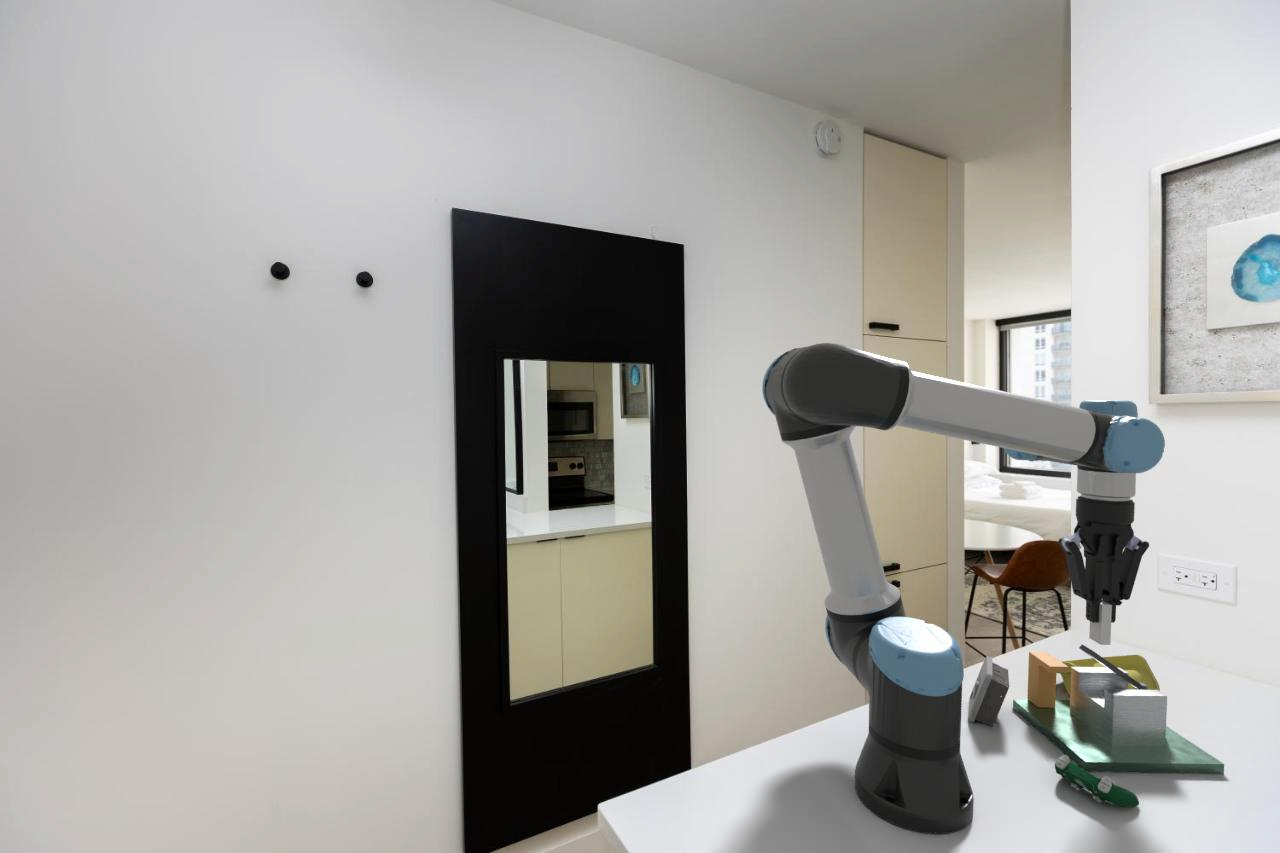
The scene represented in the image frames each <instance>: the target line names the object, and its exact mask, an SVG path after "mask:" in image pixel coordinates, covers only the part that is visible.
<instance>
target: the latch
mask: <svg viewBox="0 0 1280 853" xmlns="http://www.w3.org/2000/svg"><path fill="white" fill-rule="evenodd" d="M1062 662H1063V661H1060V660H1059V659H1057V658H1056V657H1054V656H1053V655H1051V654H1050V653H1049V652H1046V651H1028V668H1027V669H1028V671H1027V672H1028V674H1027V699H1026V700H1029V701H1030V702H1032V703H1033V704H1034V705H1035V706H1037V707H1043V708H1055V700H1057V699H1056V697H1057V696H1056V695H1057V694H1056V693H1057V692H1056V691H1057V673H1056V672H1065V673H1068V666H1066V665H1065V664H1063V663H1062Z"/></svg>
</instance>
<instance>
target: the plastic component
mask: <svg viewBox="0 0 1280 853" xmlns="http://www.w3.org/2000/svg"><path fill="white" fill-rule="evenodd" d="M1101 657H1102V658H1104V659H1105V660H1107V661H1108V662H1110V663H1111V664H1112V665H1114V666H1115V667H1119V668H1121V669H1123V670H1124V671H1126V672H1128V676H1130V677H1131V678H1132V679H1134V680H1135V681H1137V682H1138V683H1144V684H1145V685H1147V689H1148V690H1158V691H1160V692H1161V689H1160V688H1161V687H1160V684H1159V681H1158V680H1157V678H1156V676H1155V674H1154V673H1153V670H1152V668H1151V667H1150V664H1149V663H1148V661H1147V660H1146V658H1145V657H1144V656H1143V655H1142V654H1141V655H1140V654H1127V655H1116V656H1115V655H1114V656H1113V655H1112V656H1104V657H1103V656H1101ZM1061 662H1062V663H1063V664H1065V665H1066V666H1068V673H1065V672H1056V674H1060V675H1061V678H1062V681H1063V683H1064V687H1065V690H1066V692H1067V695H1070V691H1071V667H1105V666H1104V665H1102V664H1101V663H1099V662H1098V661H1097V660H1095V659H1094V658H1092V657H1091V658H1084V659H1082V658H1081V659H1074V660H1065V661H1061ZM1128 689H1130V690H1136V688H1135V687H1134V686H1132V685H1131V684H1130V683H1128Z"/></svg>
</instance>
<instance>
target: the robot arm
mask: <svg viewBox="0 0 1280 853" xmlns="http://www.w3.org/2000/svg"><path fill="white" fill-rule="evenodd" d="M761 389H762V397H763V399H764V403H765V404H766V406H767V409H769V411H770V412H771V413H772V415H774V418H775V420H776V423H777V425H776V426H777V428H778V431H779V435H780V439H781V442H782V443H784V444H785V445H787V446H788V447H791V448H792V450H793V451H794V454H795V458H796V462H797V465H798V469H799V472H800V477H801V479H802V480H801V481H802V483H803V484H802V485H803V488H804V493H805V495H806V500H807V502H808V503H807V504H808V507H809V512H810V514H811V519H812V523H813V526H814V529H815V534H816V538H817V541H818V542H817V543H818V546H819V550H820V553H821V557H822V560H823V564H824V569H825V572H826V575H827V581H828V583H829V587H830V592H829V594H827V596H826V598H825V599H824V607H825V610H826V618H825V624H824V625H825V626H824V628H825V635H826V636H825V637H826V639H827V641H828V644H829V646H830V649H831V651H832V652H833V654H834V656H835V657H836V659H837V660H838V661H840V662H841V663H842V665H843V666H845V667H846V668H847V669H848V671H849V672H850V673H851V674H852V675H853V676H854V678H855V679H856V680H857V681H858V682H859V683H860V685H861V686H862V687H863V688H864V690H865V691H867V694H868V734H867V737H866V738H865V741H864V744H863V746H862V749H861V752H860V754H859V757H858V759H857V762H856V765H855V769H854V791H855V793H856V796H857V797H858V799H859V800H860V802H861V803H862V804H863V805H864V806H865V807H866V808H867V809H869V811H871V812H872V813H874V815H876V816H877V817H879V818H881V819H883V820H885V821H886V822H889V823H891V824H892V825H894V826H898V827H900V828H903V829H906V830H909V831H914V832H918V833H924V834H933V835H935V834H937V835H938V834H941V835H942V834H949V833H955V832H958V831H960V830H962V829H964V828H966V827H967V826H968V825H969V824H970V823H971V821H972V820H973V816H974V804H975V803H974V802H975V801H974V800H975V798H974V792H973V790H972V789H973V788H972V786H971V783H970V779H969V776H968V774H967V770H966V767H965V764H964V760H963V758H962V754H961V733H962V730H961V728H962V701H963V699H962V698H963V697H962V696H963V681H964V678H965V676H964V675H965V674H964V673H965V671H964V670H965V669H964V664H963V654H962V653H963V652H962V649H961V647H960V645H959V642H958V641H957V640H956V639H955V637H954V636H953V635H952V634H951V633H950V632H948V631H947V630H945V629H944V628H942V627H940V626H939V625H936V624H935V623H927V622H926V621H925V620H923V619H919V618H915V617H909V616H907V615H906V612H905V607H904V603H903V600H902V596H901V591H900V589H899V588H898V587H897V586H895V585H893V584H892V583H890V582H888V580H887V578H886V574H885V571H884V570H885V569H884V567H883V563H882V562H883V561H882V559H881V555H880V551H879V547H878V546H879V545H878V543H877V539H876V535H875V531H874V527H873V524H872V520H871V516H870V511H869V508H868V504H867V500H866V496H865V491H864V489H863V485H862V481H861V477H860V473H859V469H858V464H857V461H856V456H855V454H854V453H855V452H854V450H853V444H852V441H851V438H850V437H851V435H852V433H853V431H854V429H855V428H856V427H864V428H865V427H866V428H871V429H876V430H880V431H881V430H882V431H890V430H892V429H893V428H895V427H896V426H897V427H902V428H907V429H912V430H917V431H922V432H926V433H930V434H936V435H940V436H945V437H948V438H949V437H950V438H954V439H958V440H959V439H960V440H963V441H969V442H974V443H978V444H983V445H988V446H992V447H997V448H1002V449H1004V451H1005V453H1006V454H1007V456H1009V457H1010V458H1012V459H1014V460H1016V461H1029V462H1035V461H1045V462H1053V463H1059V464H1066V465H1073V466H1076V467H1077V469H1076V470H1077V472H1076V473H1077V474H1076V476H1077V477H1076V492H1077V493H1078V494H1080V495H1078V496H1077V497H1076V499H1075V517H1076V522H1077V523H1076V526H1075V527H1074V529H1073V534H1071V535H1070V536H1068V537H1067V538H1065V537H1061V538H1059V539H1058V545H1060V547H1061V549H1062V550H1063V552H1064V555H1065V560H1066V564H1067V565H1066V566H1067V569H1068V574H1069V579H1070V582H1071V583H1070V584H1071V587H1072V592H1073V595H1075V596H1078V597H1079V598H1081V599H1083V600H1085V619H1086V620H1087V621H1089V633H1088V634H1089V639H1090V640H1092V641H1093V642H1095V643H1097V644H1098V645H1101V646H1102V645H1103V646H1110V645H1111V642H1112V641H1111V638H1112V637H1111V635H1112V634H1111V633H1112V623H1113V624H1114V623H1115V622H1116V618H1117V617H1116V615H1117V606H1121V605H1122V604H1123V600H1125V601H1128V600H1130V598H1131V595H1132V592H1133V589H1134V585H1135V582H1136V578H1137V575H1138V573H1139V572H1138V571H1139V568H1140V565H1141V562H1142V558H1143V556H1144V555H1145V553H1146V551H1147V550H1148V549H1149V547H1150V543H1149V542H1148V541H1146V540H1142V539H1140V538H1139V537H1137V536H1136V535H1135V531H1134V529H1133V527H1132V524H1133V523H1134V521H1135V508H1136V507H1135V506H1136V505H1135V502H1134V500H1133V499H1131V498H1133V497H1135V496H1136V486H1137V484H1136V482H1137V474H1142V473H1143V474H1144V473H1146V472H1147V471H1150V470H1152V469H1153V468H1154V467H1155V466H1157V465H1158V464H1159V462H1160V461H1161V460H1162V458H1163V454H1164V452H1165V447H1166V446H1165V445H1166V443H1165V442H1166V440H1165V437H1164V433H1163V431H1162V430H1161V428H1160V427H1159V426H1158V425H1157V424H1156V423H1155V422H1153V421H1152V420H1150V419H1147V418H1144V417H1139V412H1138V406H1137V404H1136V403H1135V402H1133V401H1132V400H1125V399H1124V400H1121V399H1120V400H1118V399H1116V400H1115V399H1113V400H1112V399H1110V400H1109V399H1107V400H1106V399H1105V400H1103V399H1096V400H1095V399H1092V400H1089V399H1087V400H1083V401H1081V402H1080V403H1079V407H1076V406H1073V405H1067V404H1064V403H1059V402H1054V401H1048V400H1045V399H1039V398H1037V397H1036V398H1035V397H1031V396H1027V395H1021V394H1018V393H1012V392H1008V391H1003V390H998V389H996V388H995V389H994V388H990V387H985V386H981V385H976V384H971V383H969V382H968V383H967V382H962V381H958V380H957V381H956V380H953V379H948V378H946V377H945V378H944V377H939V376H936V375H935V376H934V375H930V374H925V373H923V372H922V373H921V372H917V371H913V370H911V368H910V366H909V365H908V363H907V362H906V361H903V360H898V359H894V358H889V357H886V356H882V355H879V354H875V353H872V352H868V351H864V350H861V349H857V348H854V347H850V346H846V345H843V344H839V343H831V342H823V343H815V344H812V345H808V346H803V347H797V348H792V349H790V350H787V351H784V352H783V354H781V355H779V356H778V357H777V358H776V359H774V360H773V361H772V362H771V363H770V364H769V366H768V367H767V369H766V372H765V373H764V376H763V380H762V386H761ZM1082 547H1083V554H1082V552H1081V550H1082ZM1083 556H1084V557H1083ZM1084 558H1085V561H1084ZM1084 562H1085V563H1084Z"/></svg>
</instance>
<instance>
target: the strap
mask: <svg viewBox="0 0 1280 853" xmlns="http://www.w3.org/2000/svg"><path fill="white" fill-rule="evenodd" d="M1078 649H1080V650H1081V651H1082V652H1084V653H1085V654H1086V655H1088V656H1090V657H1091V658H1094V659H1095V660H1097V661H1098V662H1099V663H1101V664H1102V665H1104V666H1105V667H1107V668H1108V669H1109V670H1111V671H1112V672H1114V673H1115V674H1117V675H1118V676H1120V677H1121V678H1122V679H1124V680H1125V681H1127V682H1128V683H1130V684H1131V685H1132V686H1134V687H1135V688H1137V689H1138V690H1148V689H1147V688H1145V687H1144V686H1143V685H1141V684H1140V683H1138V682H1137V681H1135V680H1134V679H1132V678H1131V677H1130V676H1128V675H1127V674H1125V673H1124V672H1122V671H1121V670H1120V669H1118V668H1117V667H1115V666H1114V665H1112V664H1111V663H1110V662H1108V661H1107V660H1105V659H1104V658H1102V657H1103V656H1101V655H1100V654H1098V653H1096V652H1095V651H1094V650H1093V649H1090V648H1089V647H1088V646H1086V645H1084V644H1081V645H1080V646H1079V647H1078Z"/></svg>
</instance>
